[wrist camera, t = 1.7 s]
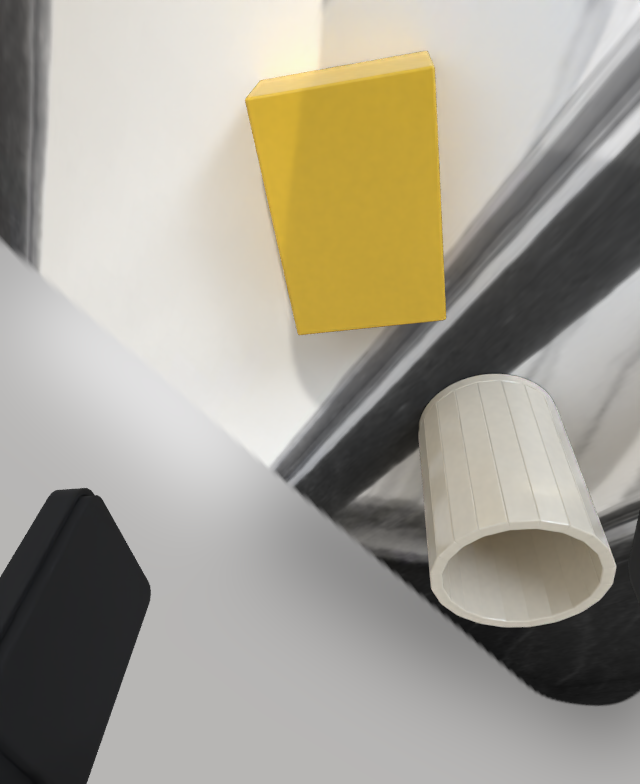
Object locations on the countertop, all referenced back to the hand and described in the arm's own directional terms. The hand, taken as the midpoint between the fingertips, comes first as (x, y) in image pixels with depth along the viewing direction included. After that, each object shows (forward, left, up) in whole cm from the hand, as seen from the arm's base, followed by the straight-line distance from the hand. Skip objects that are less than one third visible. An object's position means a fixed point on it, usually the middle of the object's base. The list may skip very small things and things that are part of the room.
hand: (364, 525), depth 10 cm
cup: (+13, +5, -17) cm, 21 cm away
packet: (0, 0, -17) cm, 17 cm away
